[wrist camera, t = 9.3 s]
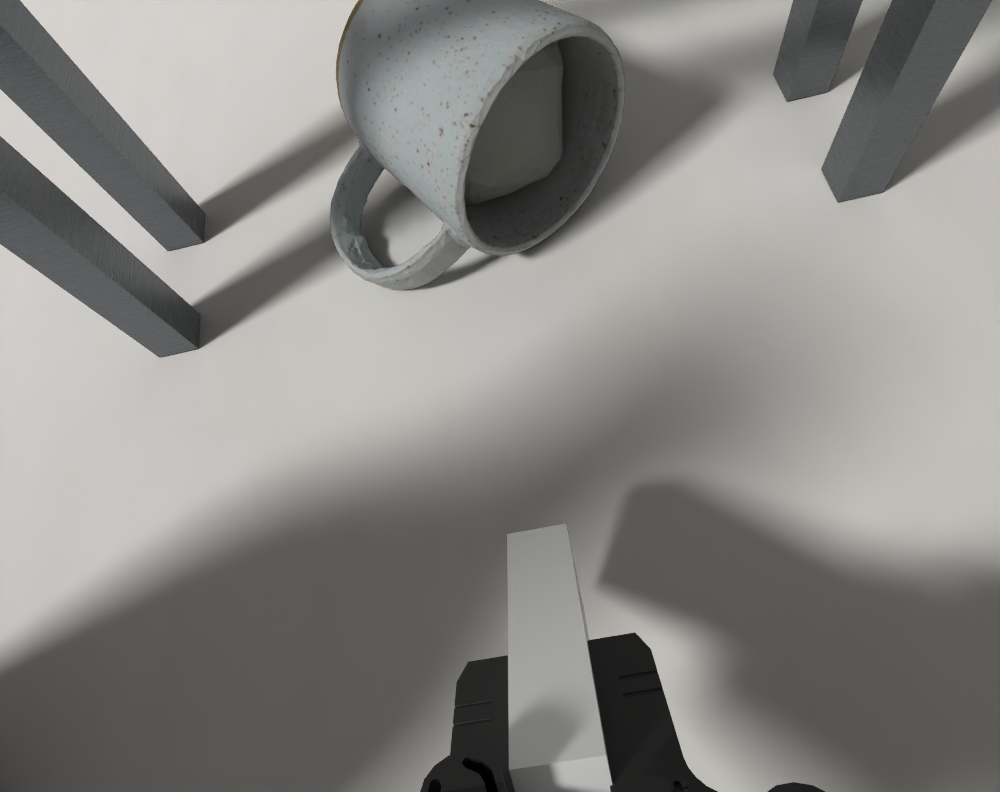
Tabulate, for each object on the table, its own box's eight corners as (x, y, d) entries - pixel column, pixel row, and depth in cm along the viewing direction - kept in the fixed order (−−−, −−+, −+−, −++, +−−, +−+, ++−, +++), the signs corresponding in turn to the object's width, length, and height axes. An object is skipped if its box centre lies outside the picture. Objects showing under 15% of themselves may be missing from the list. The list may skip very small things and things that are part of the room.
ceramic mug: (489, 80, 28) (446, -115, 21) (629, 168, 25) (633, -26, 18) (305, 233, 26) (193, 77, 19) (430, 350, 23) (349, 213, 16)
